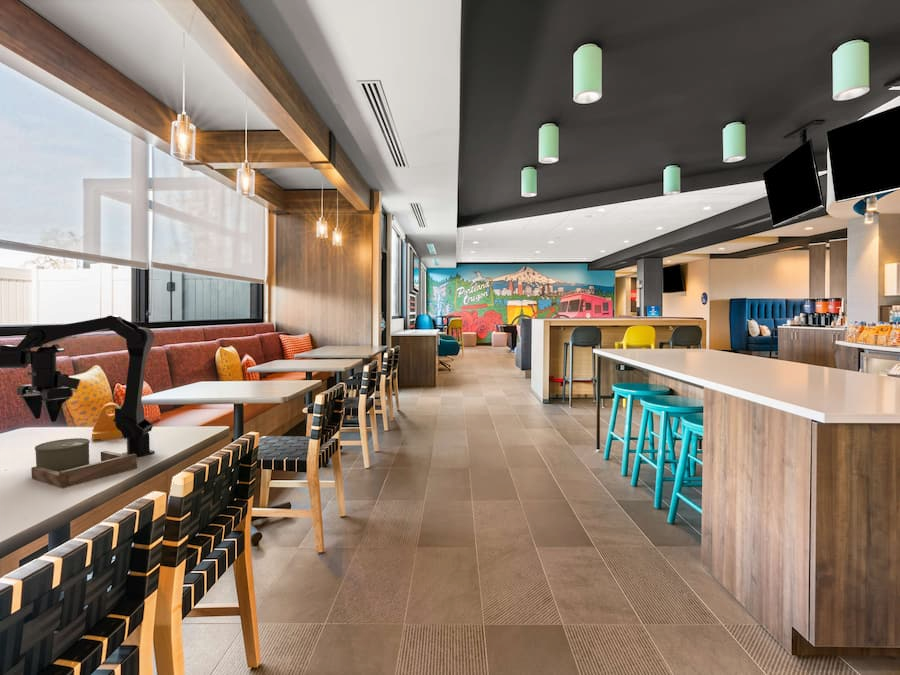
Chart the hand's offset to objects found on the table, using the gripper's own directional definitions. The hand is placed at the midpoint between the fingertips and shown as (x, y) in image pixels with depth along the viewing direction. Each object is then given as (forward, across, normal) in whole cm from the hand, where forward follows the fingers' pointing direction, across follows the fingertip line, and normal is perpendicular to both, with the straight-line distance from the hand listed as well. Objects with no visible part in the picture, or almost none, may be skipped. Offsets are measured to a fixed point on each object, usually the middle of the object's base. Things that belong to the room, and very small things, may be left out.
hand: (45, 420), depth 138 cm
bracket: (+12, +12, -24) cm, 30 cm away
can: (+12, -12, +1) cm, 17 cm away
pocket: (+12, -23, +1) cm, 26 cm away
